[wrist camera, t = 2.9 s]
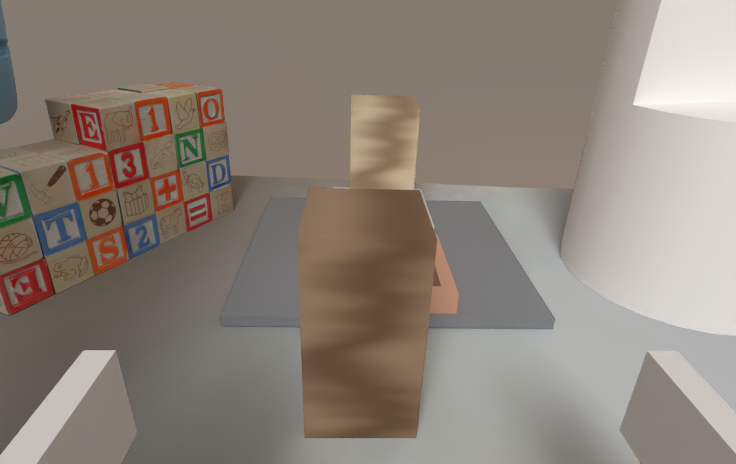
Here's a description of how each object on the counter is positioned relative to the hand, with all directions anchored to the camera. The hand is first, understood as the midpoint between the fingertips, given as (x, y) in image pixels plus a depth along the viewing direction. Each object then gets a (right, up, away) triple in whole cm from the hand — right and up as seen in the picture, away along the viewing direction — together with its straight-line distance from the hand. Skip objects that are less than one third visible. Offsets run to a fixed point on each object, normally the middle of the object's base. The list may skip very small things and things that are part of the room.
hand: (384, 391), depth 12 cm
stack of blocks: (-22, +3, +29) cm, 36 cm away
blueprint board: (+1, +2, +28) cm, 28 cm away
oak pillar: (+1, +5, +33) cm, 33 cm away
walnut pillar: (-1, -5, +14) cm, 15 cm away
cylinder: (+25, +1, +27) cm, 37 cm away
